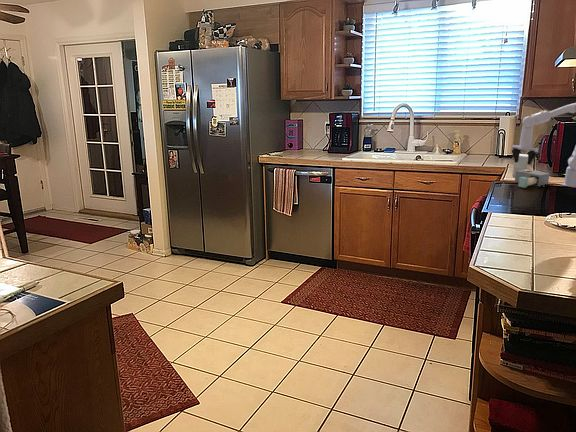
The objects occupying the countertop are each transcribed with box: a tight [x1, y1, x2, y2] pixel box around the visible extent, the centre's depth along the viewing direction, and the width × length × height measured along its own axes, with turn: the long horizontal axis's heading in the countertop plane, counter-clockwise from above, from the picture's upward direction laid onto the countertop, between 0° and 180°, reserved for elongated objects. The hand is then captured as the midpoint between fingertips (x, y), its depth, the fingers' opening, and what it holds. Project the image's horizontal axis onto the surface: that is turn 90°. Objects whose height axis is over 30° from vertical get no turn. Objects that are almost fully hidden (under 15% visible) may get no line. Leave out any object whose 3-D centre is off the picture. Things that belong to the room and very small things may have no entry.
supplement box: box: [512, 153, 531, 178], centre depth 279 cm, size 7×7×13 cm
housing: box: [514, 169, 550, 187], centre depth 264 cm, size 9×14×6 cm, turn 32°
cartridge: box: [517, 177, 538, 189], centre depth 256 cm, size 12×4×5 cm, turn 122°
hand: (522, 163), depth 264 cm, fingers open, 7 cm apart
